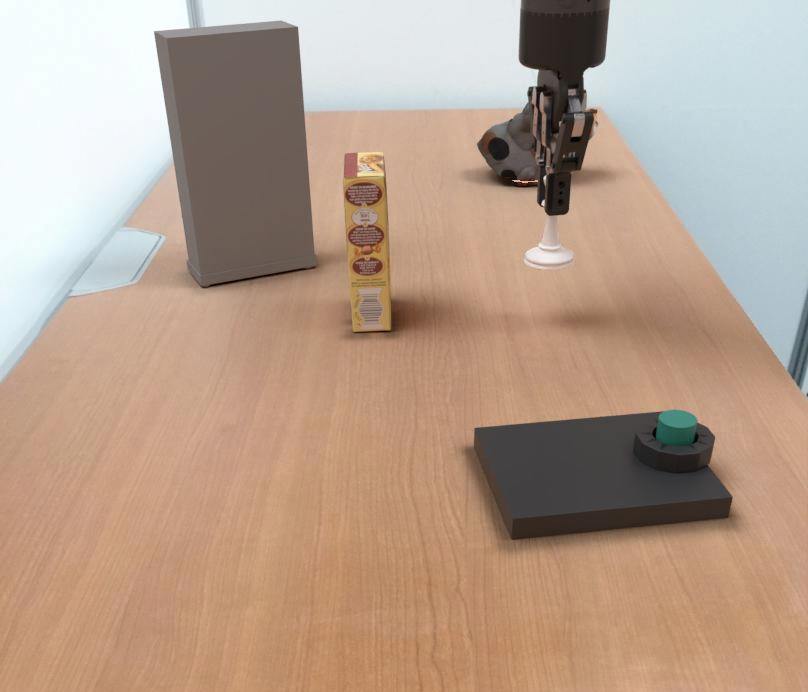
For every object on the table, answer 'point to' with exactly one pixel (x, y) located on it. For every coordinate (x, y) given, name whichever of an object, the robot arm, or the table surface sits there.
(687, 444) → the button
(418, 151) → the table surface
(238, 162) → the gray rectangular block
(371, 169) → the candy box
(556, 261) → the chess piece
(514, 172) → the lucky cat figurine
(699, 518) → the scale
